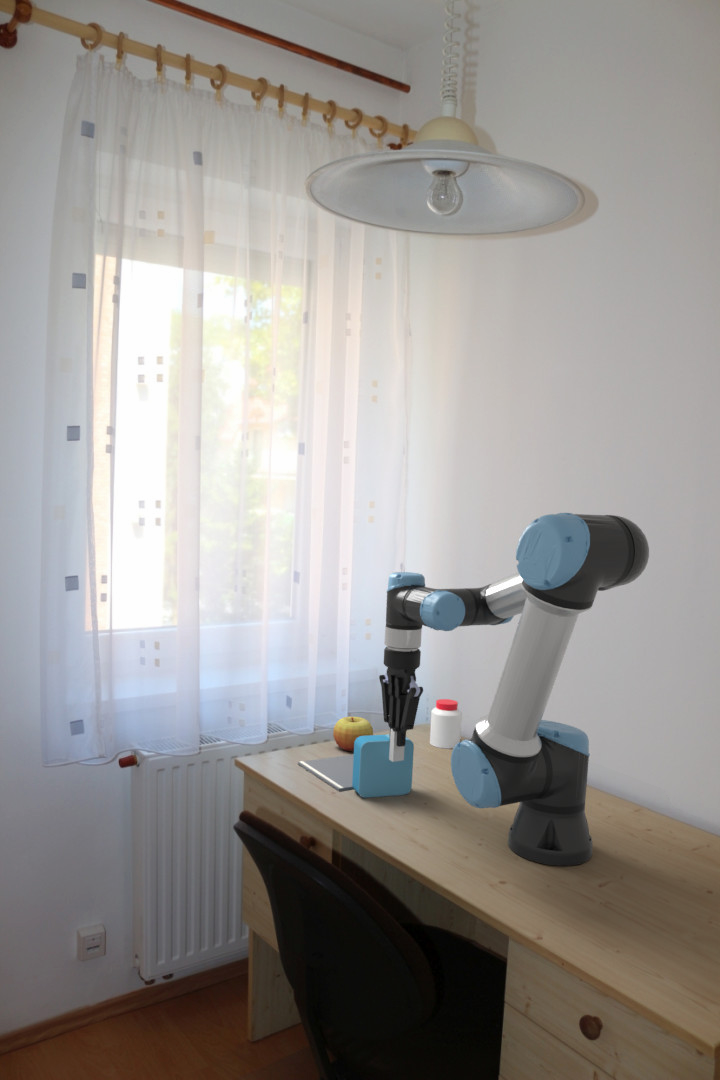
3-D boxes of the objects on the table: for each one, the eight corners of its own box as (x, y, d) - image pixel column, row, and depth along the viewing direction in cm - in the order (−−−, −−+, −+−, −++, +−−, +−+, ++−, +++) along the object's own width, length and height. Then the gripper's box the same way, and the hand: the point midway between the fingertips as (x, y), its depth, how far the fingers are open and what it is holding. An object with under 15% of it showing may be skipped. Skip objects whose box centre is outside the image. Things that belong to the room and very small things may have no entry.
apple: (331, 753, 208) (333, 721, 208) (332, 741, 218) (334, 710, 218) (372, 755, 209) (374, 723, 208) (371, 743, 218) (373, 712, 218)
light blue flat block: (403, 787, 188) (406, 733, 187) (411, 794, 183) (414, 739, 183) (351, 791, 184) (354, 735, 183) (358, 798, 179) (361, 742, 179)
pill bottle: (428, 747, 218) (430, 704, 217) (430, 738, 225) (433, 696, 224) (459, 750, 216) (461, 706, 216) (460, 741, 224) (462, 699, 223)
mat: (408, 779, 192) (408, 776, 192) (338, 791, 183) (338, 788, 183) (363, 754, 209) (364, 752, 209) (297, 764, 199) (297, 761, 199)
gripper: (436, 652, 173) (429, 767, 175) (400, 640, 185) (394, 748, 186) (405, 655, 170) (398, 772, 171) (370, 642, 181) (364, 752, 182)
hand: (396, 759), depth 179 cm, fingers closed
